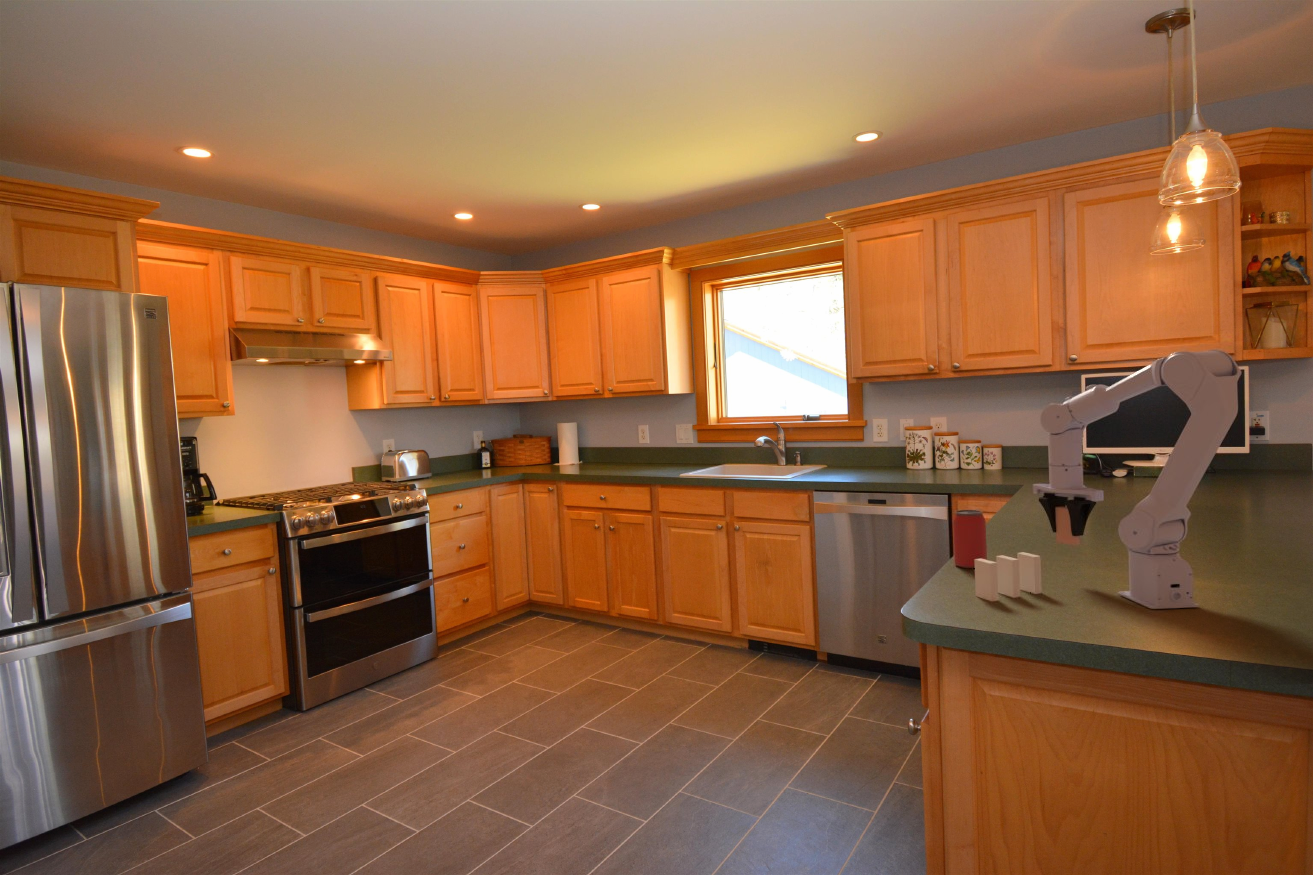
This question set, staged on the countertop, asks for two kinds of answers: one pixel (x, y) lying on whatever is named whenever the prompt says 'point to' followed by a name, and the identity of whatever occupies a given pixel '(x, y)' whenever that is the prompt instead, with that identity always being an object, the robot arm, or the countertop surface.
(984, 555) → the beer can
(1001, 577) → the ivory domino
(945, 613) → the countertop surface
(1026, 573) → the ivory domino
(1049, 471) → the robot arm
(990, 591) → the ivory domino
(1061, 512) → the rust domino
